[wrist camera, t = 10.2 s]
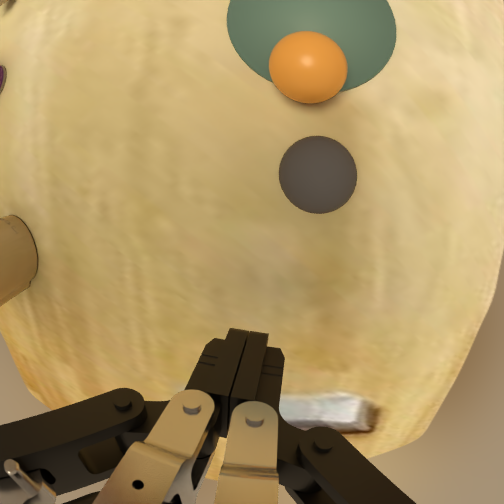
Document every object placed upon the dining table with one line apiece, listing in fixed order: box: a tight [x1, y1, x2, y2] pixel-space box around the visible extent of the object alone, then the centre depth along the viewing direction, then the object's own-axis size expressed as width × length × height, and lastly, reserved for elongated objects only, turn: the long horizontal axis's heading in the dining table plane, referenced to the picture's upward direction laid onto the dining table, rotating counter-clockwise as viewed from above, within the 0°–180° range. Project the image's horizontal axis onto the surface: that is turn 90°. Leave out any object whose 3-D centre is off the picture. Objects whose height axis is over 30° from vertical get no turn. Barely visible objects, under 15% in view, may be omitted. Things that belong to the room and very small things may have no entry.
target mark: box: [227, 0, 396, 92], centre depth 19 cm, size 14×14×1 cm
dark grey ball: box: [279, 136, 357, 214], centre depth 21 cm, size 6×6×6 cm
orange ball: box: [269, 31, 348, 103], centre depth 18 cm, size 6×6×6 cm
